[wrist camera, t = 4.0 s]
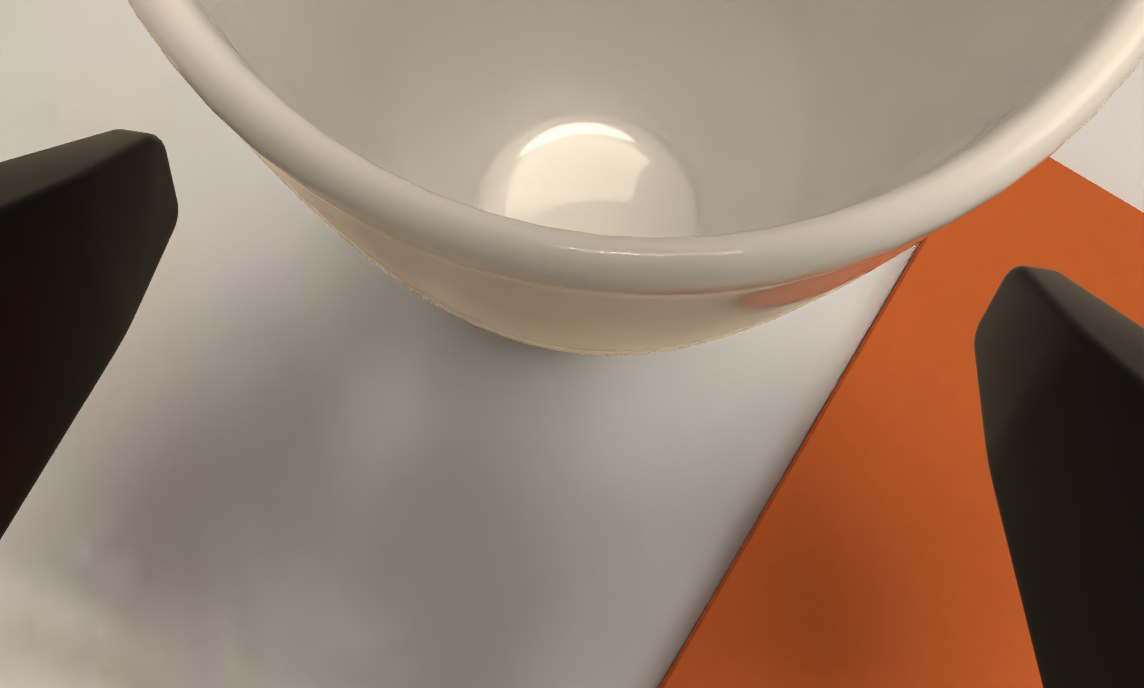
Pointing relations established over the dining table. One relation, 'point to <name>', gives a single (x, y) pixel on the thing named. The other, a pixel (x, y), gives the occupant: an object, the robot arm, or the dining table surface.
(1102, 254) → the cloth
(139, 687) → the dining table surface
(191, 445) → the dining table surface
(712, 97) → the drinking glass
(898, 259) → the dining table surface
